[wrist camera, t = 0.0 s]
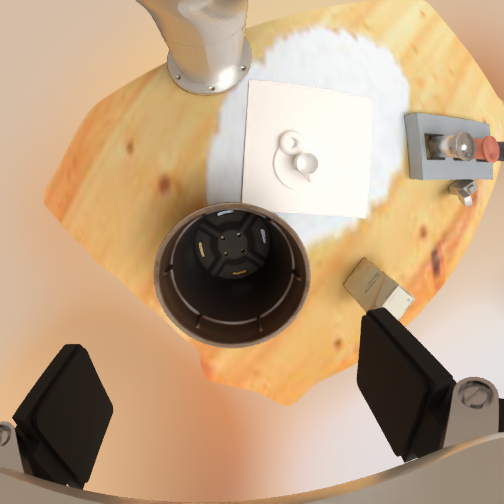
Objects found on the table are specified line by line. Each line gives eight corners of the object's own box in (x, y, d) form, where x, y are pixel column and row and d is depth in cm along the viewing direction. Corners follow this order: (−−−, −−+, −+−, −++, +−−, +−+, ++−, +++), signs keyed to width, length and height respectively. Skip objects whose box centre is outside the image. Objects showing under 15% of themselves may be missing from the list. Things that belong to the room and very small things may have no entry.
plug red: (452, 135, 39) (483, 134, 31) (467, 137, 39) (498, 137, 32) (454, 159, 40) (485, 162, 33) (469, 160, 40) (500, 163, 33)
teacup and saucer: (275, 130, 41) (280, 126, 37) (326, 136, 42) (336, 133, 38) (271, 188, 43) (276, 190, 39) (323, 192, 44) (332, 194, 40)
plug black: (475, 138, 39) (505, 138, 32) (487, 140, 39) (517, 141, 32) (476, 161, 40) (507, 163, 33) (489, 161, 41) (518, 164, 33)
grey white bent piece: (461, 177, 45) (488, 181, 38) (463, 185, 46) (491, 190, 38) (438, 192, 46) (466, 198, 38) (440, 201, 46) (468, 208, 39)
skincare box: (363, 256, 48) (399, 282, 36) (380, 270, 49) (416, 297, 37) (341, 286, 49) (370, 319, 37) (358, 298, 50) (389, 332, 38)
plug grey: (425, 133, 39) (456, 131, 31) (443, 135, 39) (474, 133, 31) (427, 159, 40) (459, 160, 32) (445, 159, 40) (477, 161, 32)
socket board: (404, 115, 42) (417, 112, 38) (476, 124, 42) (489, 123, 39) (409, 178, 45) (423, 180, 41) (480, 177, 46) (493, 179, 42)
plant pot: (204, 306, 48) (194, 366, 33) (161, 215, 44) (127, 241, 28) (297, 270, 48) (327, 318, 32) (262, 174, 43) (280, 177, 28)
